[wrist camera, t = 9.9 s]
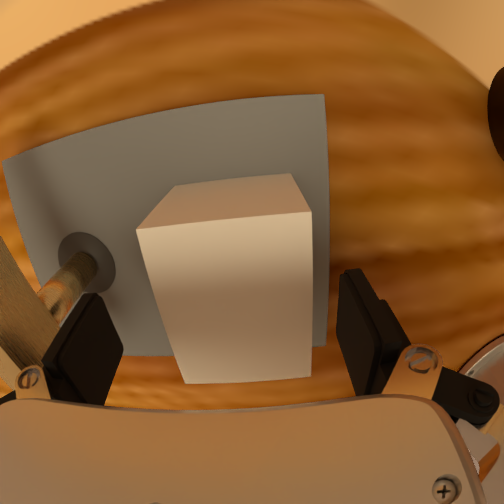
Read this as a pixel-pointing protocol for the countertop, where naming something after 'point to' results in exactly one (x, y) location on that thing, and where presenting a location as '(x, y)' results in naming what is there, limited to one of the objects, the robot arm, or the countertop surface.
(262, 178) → the cream rectangular block
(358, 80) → the countertop surface
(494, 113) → the water bottle
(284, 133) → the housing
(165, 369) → the countertop surface
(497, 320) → the countertop surface
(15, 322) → the key
